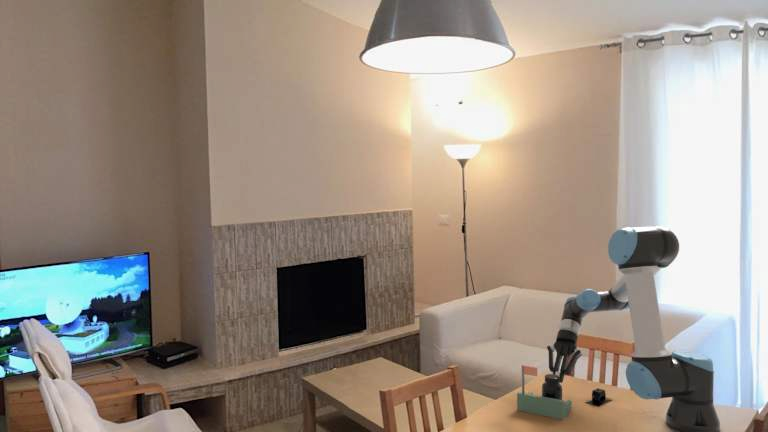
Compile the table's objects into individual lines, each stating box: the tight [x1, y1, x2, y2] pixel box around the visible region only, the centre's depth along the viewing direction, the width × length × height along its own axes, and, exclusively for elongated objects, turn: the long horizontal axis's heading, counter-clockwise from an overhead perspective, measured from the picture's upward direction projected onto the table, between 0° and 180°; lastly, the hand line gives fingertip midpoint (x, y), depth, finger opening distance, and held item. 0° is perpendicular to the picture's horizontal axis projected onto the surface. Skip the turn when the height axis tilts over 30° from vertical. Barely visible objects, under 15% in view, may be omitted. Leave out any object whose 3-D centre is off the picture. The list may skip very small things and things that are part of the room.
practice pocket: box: [516, 364, 573, 421], centre depth 198 cm, size 10×16×16 cm, turn 55°
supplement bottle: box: [541, 373, 563, 400], centre depth 198 cm, size 7×7×12 cm
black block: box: [585, 388, 613, 408], centre depth 204 cm, size 12×7×5 cm, turn 129°
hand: (554, 389), depth 207 cm, fingers closed
